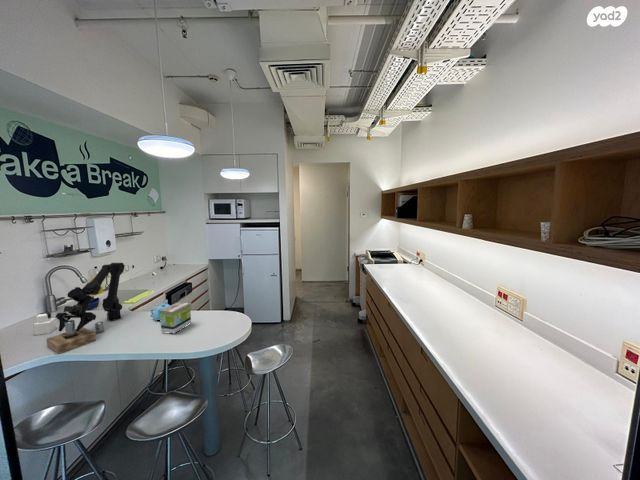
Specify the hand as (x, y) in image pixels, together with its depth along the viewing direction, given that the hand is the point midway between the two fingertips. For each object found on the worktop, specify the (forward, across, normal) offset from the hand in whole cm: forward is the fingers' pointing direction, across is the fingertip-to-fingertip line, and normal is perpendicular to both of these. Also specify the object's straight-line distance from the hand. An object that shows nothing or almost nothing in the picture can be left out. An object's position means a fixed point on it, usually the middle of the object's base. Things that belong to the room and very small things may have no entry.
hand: (68, 331), depth 145 cm
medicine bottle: (-6, -28, +17) cm, 34 cm away
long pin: (+5, 0, +7) cm, 8 cm away
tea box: (-6, +51, +18) cm, 54 cm away
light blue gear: (-18, +35, +30) cm, 49 cm away
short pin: (-4, +6, +16) cm, 17 cm away
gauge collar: (+5, 0, +7) cm, 8 cm away
